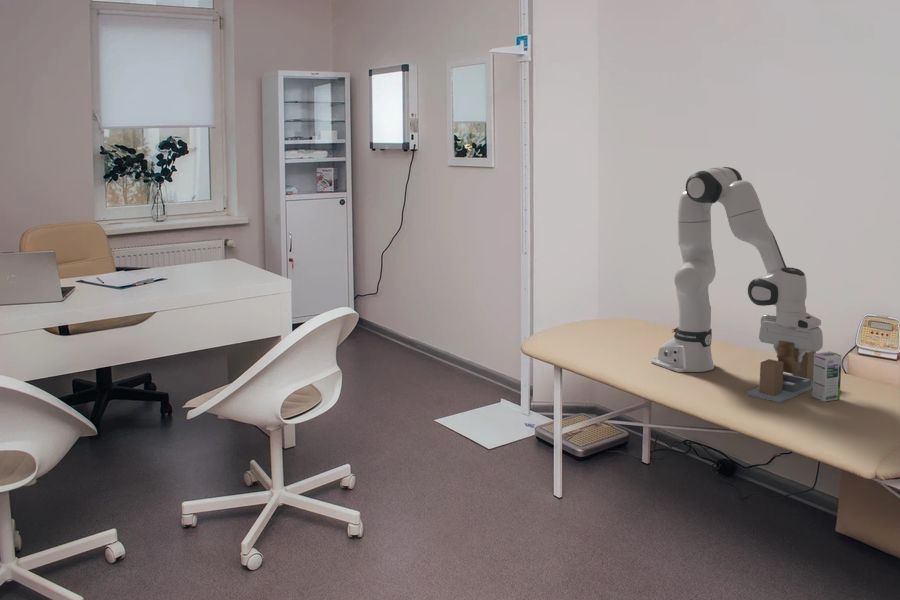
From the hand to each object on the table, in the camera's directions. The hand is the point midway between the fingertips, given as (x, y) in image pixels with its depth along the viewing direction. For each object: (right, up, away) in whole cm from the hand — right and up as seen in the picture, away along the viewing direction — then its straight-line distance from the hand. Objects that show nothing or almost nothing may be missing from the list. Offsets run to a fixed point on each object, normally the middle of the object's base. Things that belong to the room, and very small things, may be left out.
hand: (789, 359), depth 269 cm
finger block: (0, -4, +1) cm, 4 cm away
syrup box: (+8, -12, -8) cm, 16 cm away
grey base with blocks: (0, -10, +2) cm, 10 cm away
